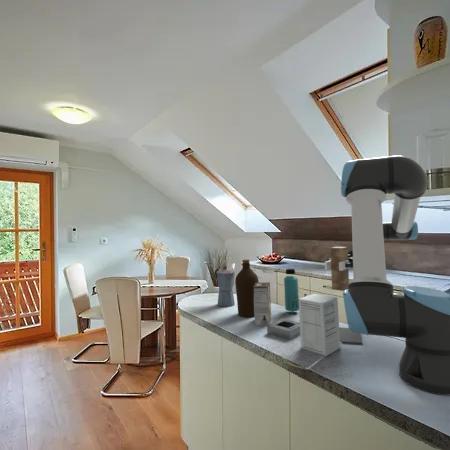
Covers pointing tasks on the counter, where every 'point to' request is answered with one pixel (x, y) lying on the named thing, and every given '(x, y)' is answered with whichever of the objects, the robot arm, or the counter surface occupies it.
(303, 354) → the counter surface
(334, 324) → the supplement box
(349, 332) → the rubber mat
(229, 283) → the moka pot
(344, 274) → the wooden peg
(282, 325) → the post base
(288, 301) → the beverage bottle
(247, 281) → the olive oil
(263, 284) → the coffee box
